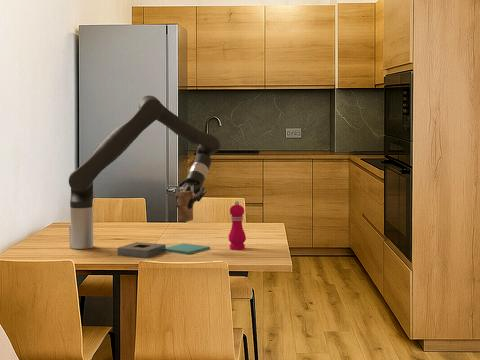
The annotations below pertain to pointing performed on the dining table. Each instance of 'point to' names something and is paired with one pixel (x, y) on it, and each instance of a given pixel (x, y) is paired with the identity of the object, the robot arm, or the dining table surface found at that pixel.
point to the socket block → (141, 249)
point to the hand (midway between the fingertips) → (183, 207)
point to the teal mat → (186, 248)
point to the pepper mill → (237, 228)
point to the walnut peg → (184, 206)
